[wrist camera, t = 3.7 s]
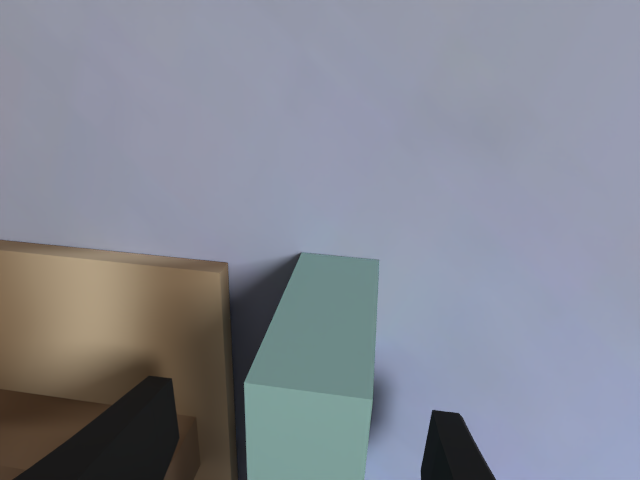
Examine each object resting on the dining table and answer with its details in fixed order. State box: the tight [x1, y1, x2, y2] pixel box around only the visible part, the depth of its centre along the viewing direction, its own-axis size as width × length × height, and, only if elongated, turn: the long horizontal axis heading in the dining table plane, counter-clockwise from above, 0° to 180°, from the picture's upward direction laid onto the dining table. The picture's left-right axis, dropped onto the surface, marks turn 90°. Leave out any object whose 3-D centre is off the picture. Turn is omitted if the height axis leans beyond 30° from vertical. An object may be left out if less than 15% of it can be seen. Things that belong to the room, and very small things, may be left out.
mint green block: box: [244, 253, 379, 480], centre depth 11 cm, size 2×9×5 cm, turn 178°
